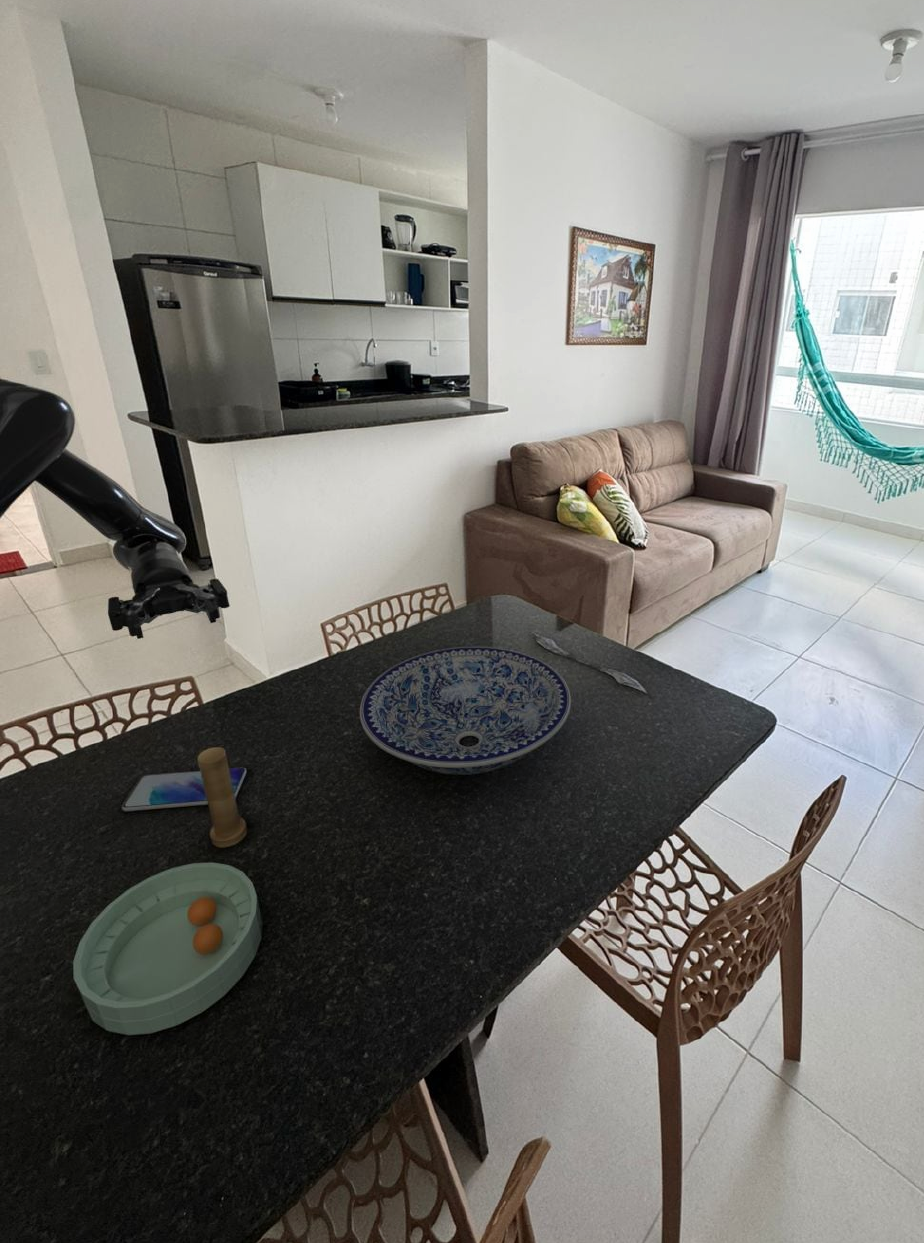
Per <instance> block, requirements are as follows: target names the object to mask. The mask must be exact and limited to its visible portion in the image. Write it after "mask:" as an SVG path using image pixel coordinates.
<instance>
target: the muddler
mask: <svg viewBox="0 0 924 1243" xmlns="http://www.w3.org/2000/svg"><path fill="white" fill-rule="evenodd" d="M197 763H198V768H199V771H200V772H201V776H202V780H203V785H204V789H205V793H206V797H207V802H208V805H207V806H208V810H209V813H210V818H211V823H212V828H211V829H210V831H209V838H210V841H211V844H212V845H213V846H215V847H216V848H229V847H232V846H235V845H237V844H238V843H239V842H241V841H242V840H243V839H244V838H245V837H246V835H247V834H248V828H247V822H246V821H245V819H244V818H242V817H240V814H239V809H238V804H237V799H236V798H235V795H234V790H233V785H232V780H231V776H230V771H229V769H230V767H229V761H228V757H227V753H226V749H224V748H223V747H220V746H219V747H218V746H215V747H214V746H213V747H210V748H209V747H208V748H207V749H205V750H203V751H201V752H200V753H199V754H198V756H197Z"/></svg>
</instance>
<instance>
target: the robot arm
mask: <svg viewBox="0 0 924 1243" xmlns="http://www.w3.org/2000/svg"><path fill="white" fill-rule="evenodd" d="M75 429H76V416H75V412H74V410H73V408H72V406H71V405H70V403H69V401H67V400H66V399H65V398H64V397H62V396H60V395H59V394H56V393H55V392H52V391H49V390H46V389H43V388H39V387H35V386H33V385H29V384H24V383H20V382H17V381H13V380H8V379H4V378H0V519H1V518H2V517H3V516H4V515H5V514H6V512H8V510H9V509H10V508H11V506H12V505H13V504H14V503H15V502H16V501H17V500H18V499H19V498H20V497H21V496H22V495H23V494H24V492H26V490H27V489H28V488H29V487H30V486H32V484H34V482H36V483H38V484H39V485H40V486H42V487H43V488H45V489H46V490H47V491H49V492H50V493H51V494H53V495H54V496H55V497H56V498H58V499H59V500H60V501H62V502H63V503H64V504H66V505H67V506H68V507H69V508H70V509H71V510H73V512H75V513H76V514H78V515H79V516H80V517H81V518H82V519H83V520H84V521H86V522H87V523H88V524H89V525H90V526H91V527H92V528H94V529H95V530H96V531H97V532H99V533H100V534H101V535H102V536H104V538H106V539H108V540H111V541H113V542H114V543H113V546H112V554H113V556H114V558H115V559H116V561H117V563H118V564H120V565H121V567H123V568H124V569H126V571H128V572H130V580H131V584H132V585H131V586H132V590H133V593H134V595H133V596H132V597H131V599H126V600H123V599H120V597H119V596H112V597H109V598H108V599H107V600H108V602H107V616H108V619H109V623H110V626H111V630H112V631H121V630H123V629H124V628H127V629H128V633H129V636H130V637H136V638H137V640H140V639H144V638H145V637H144V633H143V629H142V625H144V624H150V623H152V622H153V621H154V620H156V619H157V618H159V617H162V616H163V615H171V614H175V613H177V612H184V611H185V612H190V613H195V614H199V613H201V612H203V613H205V614H206V616H207V618H208V621H209V623H210V624H215V623H217V619H220V618H221V614H220V608H221V609H228V608H230V602H229V597H228V590H227V589H226V588H225V586H224V584H223V583H222V582H221V581H220V579H219V578H211V579H210V580H209V582H208V583H207V585H201V586H200V585H199V584H197V583H195V582H194V580H193V578H192V576H191V574H190V571H189V569H188V567H187V566H186V563H185V562H184V561H183V560H182V557H181V555H180V554H181V553H183V551H184V550H185V549H186V545H187V538H186V536H185V533H184V532H183V531H182V529H181V528H180V527H179V526H178V525H177V524H176V523H174V522H172V521H171V520H169V519H168V518H166V517H164V516H161V515H159V514H157V513H155V512H153V511H151V510H149V509H147V508H145V507H144V506H143V505H141V504H140V503H139V502H138V501H137V500H136V499H135V498H134V497H133V496H132V495H131V494H130V493H129V492H128V491H127V489H125V488H123V486H122V485H121V484H119V483H118V482H117V481H115V480H114V479H112V477H110V476H108V475H107V474H105V473H104V472H102V471H101V470H99V469H97V467H95V466H93V465H91V464H90V463H88V462H86V461H85V460H84V459H82V458H80V457H79V456H77V455H76V454H74V453H73V452H71V451H70V450H68V449H67V447H68V446H69V444H70V442H71V440H72V438H73V436H74V432H75Z"/></svg>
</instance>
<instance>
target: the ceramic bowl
mask: <svg viewBox="0 0 924 1243" xmlns="http://www.w3.org/2000/svg"><path fill="white" fill-rule="evenodd" d="M571 703H572V700H571V692H570V689H569V686H568V685H567V682H566V681H565V680H564V677H562V675H561V674H560V673H559V672H558V671H556V669H554V668H553V667H552V666H550V665H549V664H547V663H546V662H544V661H542V660H540V659H538V658H536V657H534V656H531V655H530V654H526V653H523V652H519V651H516V650H511V649H505V648H501V647H490V646H460V647H459V646H458V647H450V648H444V649H437V650H434V651H433V650H432V651H430V652H426V653H422V654H419V655H416V656H413V657H411V658H408V659H406V660H403V661H401V662H400V663H397V664H395V665H394V666H392V667H390V668H389V669H386V670H385V671H384V672H383V673H382V674H380V675H379V676H378V677H377V678H375V679H374V681H373V682H371V684H370V685H369V686H368V688H367V689H366V690H365V692H364V694H363V696H362V698H361V702H360V706H359V720H360V723H361V726H362V728H363V730H364V733H365V734H366V736H367V737H368V738H369V739H370V740H371V741H372V742H373V743H374V744H375V745H376V746H377V747H378V748H379V749H381V750H383V751H384V752H386V753H388V754H390V755H392V756H393V757H396V758H398V759H401V760H404V761H406V762H409V763H410V764H412V765H414V766H416V767H419V768H421V769H424V770H427V771H430V772H433V773H437V774H446V775H455V776H456V775H457V776H459V775H460V776H462V775H463V776H466V775H467V776H469V775H476V774H482V773H488V772H491V771H496V770H498V769H501V768H504V767H506V766H509V765H510V764H513V763H514V762H517V761H518V760H520V759H521V758H523V757H525V756H526V755H527V754H529V753H530V752H532V751H533V750H536V749H538V748H539V747H540V746H543V745H544V744H545V743H547V742H548V741H549V740H550V739H551V738H553V737H554V736H555V735H556V734H557V733H558V732H559V731H560V730H561V728H562V727H563V726H564V724H565V722H567V719H568V717H569V714H570V709H571V705H572V704H571ZM465 737H475V738H477V739H478V742H477V744H475V745H472V746H464V745H462V744H460V741H461V740H462V739H463V738H465Z"/></svg>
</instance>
